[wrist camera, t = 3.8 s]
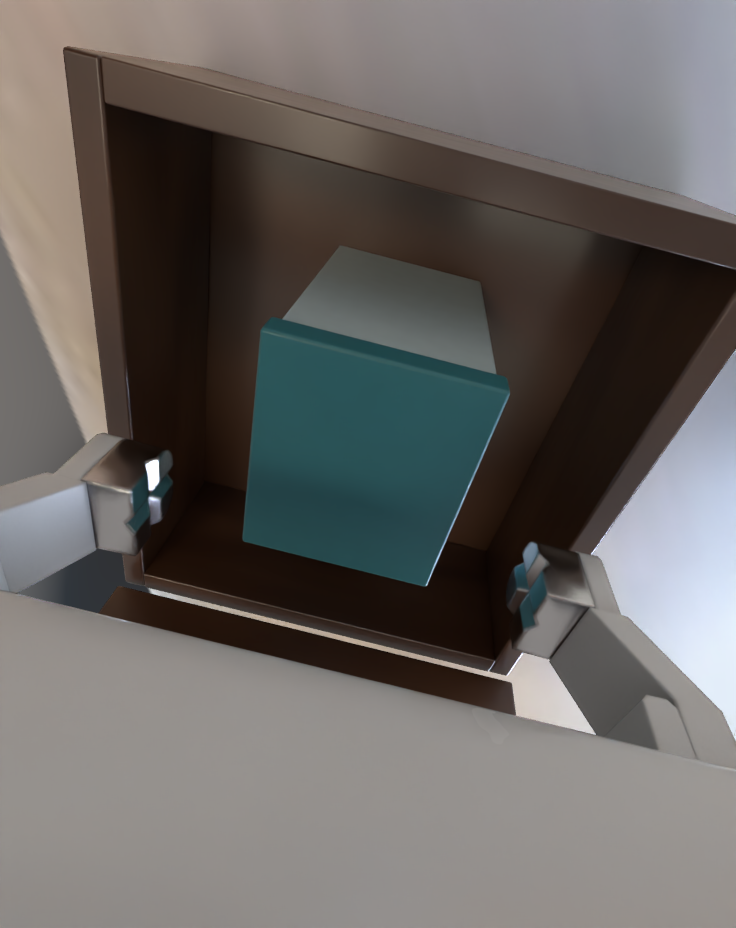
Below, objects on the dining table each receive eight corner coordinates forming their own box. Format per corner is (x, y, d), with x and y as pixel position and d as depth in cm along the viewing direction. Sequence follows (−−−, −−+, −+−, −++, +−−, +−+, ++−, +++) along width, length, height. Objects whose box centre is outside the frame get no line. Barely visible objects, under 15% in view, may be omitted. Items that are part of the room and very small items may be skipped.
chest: (198, 66, 15) (59, 44, 10) (685, 195, 16) (811, 244, 10) (195, 478, 25) (124, 582, 20) (495, 554, 25) (507, 677, 20)
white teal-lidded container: (336, 238, 17) (259, 327, 10) (487, 278, 17) (511, 393, 10) (309, 398, 21) (241, 542, 14) (434, 429, 21) (426, 588, 14)
